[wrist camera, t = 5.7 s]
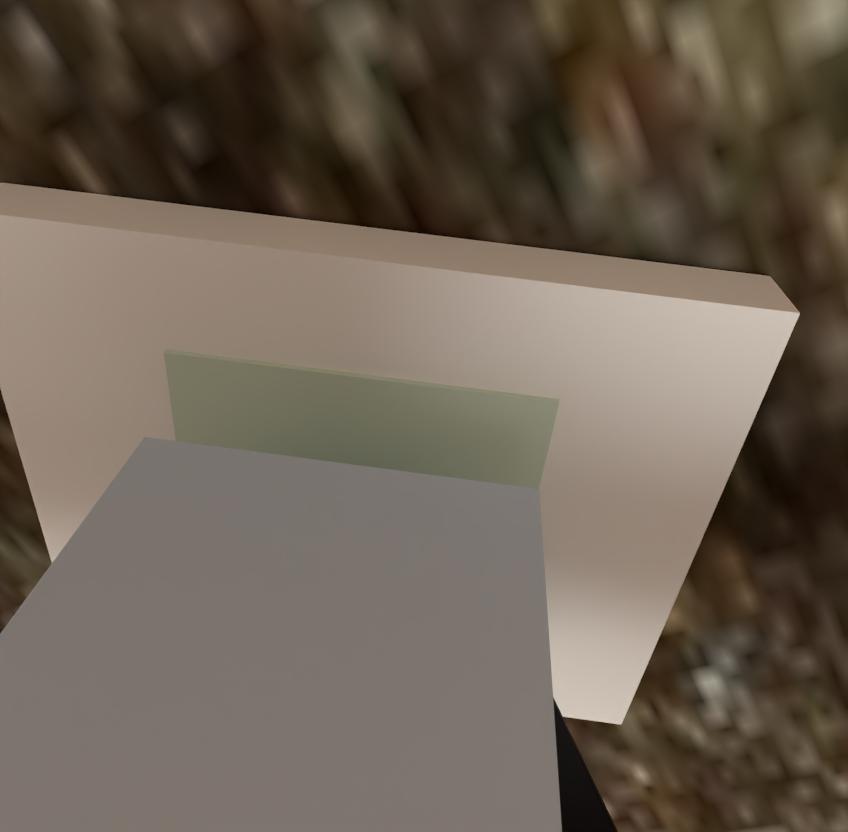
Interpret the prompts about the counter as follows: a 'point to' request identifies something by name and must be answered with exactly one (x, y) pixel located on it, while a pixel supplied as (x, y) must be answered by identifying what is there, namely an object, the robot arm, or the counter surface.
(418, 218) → the counter surface
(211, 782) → the grey cube
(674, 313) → the plate
